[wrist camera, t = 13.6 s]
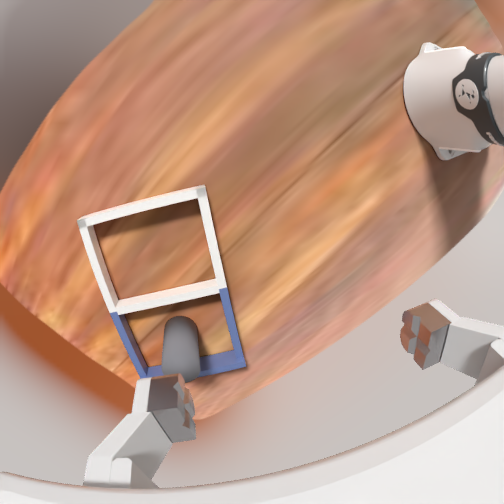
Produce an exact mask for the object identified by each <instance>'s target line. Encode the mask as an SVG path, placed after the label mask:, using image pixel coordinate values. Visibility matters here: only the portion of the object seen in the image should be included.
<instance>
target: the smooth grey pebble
mask: <svg viewBox="0 0 504 504" xmlns="http://www.w3.org/2000/svg"><path fill="white" fill-rule="evenodd" d="M161 369H162V372H163V374H164V375H171V374H178V373H180V374H181V375H182V377H183V379H184V381H185V383H186V382H190V381H192V380H194V379H196V378H197V377H198V375H199V373H200V359H199V347H198V334H197V326H196V324H195V323H194V321H193V320H191V319H190V318H188V317H184V316H176V317H173V318H171V319H170V320H168V321H167V323H166V324H165V329H164V340H163V352H162V366H161Z"/></svg>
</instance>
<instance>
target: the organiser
mask: <svg viewBox="0 0 504 504" xmlns="http://www.w3.org/2000/svg"><path fill="white" fill-rule="evenodd" d="M196 198H198V201H199V205H200V210H201V215H202V219H203V224H204V228H205V233H206V237H207V242H208V246H209V250H210V255H211V259H212V263H213V268H214V272H215V276H216V279H212V280H208V281H203V282H199V283H195V284H190V285H186V286H181V287H177V288H172V289H168V290H163V291H159V292H154V293H150V294H145V295H141V296H136V297H132V298H127V299H122V300H118V298H117V295H116V293H115V290H114V287H113V285H112V282H111V279H110V276H109V274H108V271H107V268H106V265H105V262H104V259H103V256H102V253H101V250H100V247H99V244H98V241H97V237H96V234H95V231H94V227H93V225H94V224H98V223H101V222H105V221H108V220H112V219H116V218H119V217H123V216H127V215H131V214H134V213H138V212H142V211H146V210H150V209H154V208H158V207H162V206H166V205H170V204H174V203H179V202H183V201H187V200H192V199H196ZM77 222H78V226H79V229H80V232H81V236H82V239H83V242H84V245H85V248H86V251H87V254H88V257H89V260H90V263H91V266H92V269H93V271H94V274H95V277H96V280H97V282H98V285H99V287H100V290H101V293H102V295H103V298H104V300H105V303H106V305H107V307H108V310H109V312H110V315H111V317H112V319H113V322H114V324H115V326H116V328H117V331H118V333H119V335H120V337H121V339H122V342H123V344H124V346H125V348H126V350H127V352H128V354H129V356H130V358H131V360H132V362H133V364H134V366H135V368H136V370H137V372H138V374H139V376H140V379H142V378H150V377H156V376H163V375H164V374H163V372H162V369H161V366H162V365H158V366H153V367H147V365H146V363H145V361H144V358H143V356H142V354H141V352H140V350H139V348H138V345H137V343H136V341H135V339H134V337H133V334H132V332H131V330H130V327H129V325H128V323H127V320H126V318H125V315H124V314H125V313H130V312H135V311H140V310H145V309H149V308H154V307H159V306H164V305H168V304H173V303H177V302H182V301H186V300H191V299H195V298H200V297H204V296H208V295H213V294H217V293H220V297H221V301H222V305H223V309H224V313H225V316H226V320H227V324H228V328H229V332H230V336H231V340H232V343H233V347H234V350H231V351H227V352H223V353H218V354H214V355H209V356H205V357H200V358H199V359H200V373H199V375H198V377H202V376H207V375H212V374H216V373H221V372H225V371H230V370H234V369H238V368H242V367H246V364H245V360H244V356H243V352H242V348H241V344H240V340H239V336H238V332H237V328H236V324H235V319H234V315H233V311H232V307H231V303H230V298H229V294H228V290H227V285H226V281H225V276H224V272H223V268H222V263H221V259H220V254H219V250H218V245H217V240H216V236H215V231H214V227H213V222H212V217H211V212H210V208H209V203H208V198H207V193H206V188H205V185H201V186H196V187H192V188H187V189H183V190H179V191H174V192H170V193H166V194H162V195H158V196H154V197H150V198H146V199H142V200H138V201H135V202H131V203H127V204H123V205H120V206H116V207H113V208H109V209H106V210H102V211H99V212H95V213H92V214H88V215H85V216H82V217H81V218H79V219H78V220H77Z"/></svg>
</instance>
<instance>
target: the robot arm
mask: <svg viewBox="0 0 504 504" xmlns="http://www.w3.org/2000/svg"><path fill="white" fill-rule="evenodd" d="M404 99H405V104H406V108H407V111H408V114H409V116H410V118H411V121H412V123H413V124H414V126H415V128H416V129H417V131H418V132H419V133H420V134H421V135H422V136H423V137H424V138H425V139H426V140H427V141H428V142H429V143H430V144H431V145H432V146H433V148H434V150H435V152H436V154H437V156H438V157H439V158H440V159H441V160H449V159H452V158H454V157H457V156H459V155H462V154H464V153H466V152H480V151H481V150H482V149H485V148H487V147H489V146H490V145H492V144H497V145H499V146H504V55H501V54H499V53H490V52H486V53H481V54H476V55H475V54H474V53H473V52H472V51H470V50H468V49H466V47H453V48H445V49H442V48H440V47H438V46H436V45H434V44H432V43H424V44H423V45H422V47H421V50H420V53H419V55H418V56H417V57H416V58H415V59H414V60H413V61H412V62H411V63H410V64H409V66H408V68H407V70H406V73H405V77H404ZM402 321H403V322H404V326H403V327H402V329H401V334H400V338H401V343H402V345H403V347H404V349H405V350H406V351H407V352H408V353H411V354H414V360H415V362H416V363H417V364H418V365H419V366H420V367H421V368H422V370H423V369H426V368H428V367H430V366H432V365H434V364H436V363H438V362H440V363H442V364H444V365H446V366H448V367H451V368H453V369H456V370H457V371H460V372H462V373H464V374H467V375H469V376H471V377H473V378H476V379H477V381H476V383H475V385H474V387H472V388H471V389H469V390H468V391H466V392H464V393H463V394H461V395H460V396H458V397H457V398H455V399H453V400H452V401H450V402H448V403H447V404H445V405H443V406H442V407H440V408H438V409H436V410H434V411H433V412H431V413H429V414H427V415H425V416H424V417H422V418H420V419H418V420H416V421H414V422H412V423H410V424H408V425H406V426H404V427H402V428H400V429H398V430H395V431H393V432H391V433H389V434H387V435H384V436H382V437H380V438H377V439H375V440H373V441H371V442H368V443H365V444H363V445H360V446H358V447H355V448H353V449H350V450H347V451H345V452H342V453H339V454H336V455H333V456H330V457H327V458H324V459H321V460H318V461H315V462H312V463H308V464H305V465H301V466H298V467H294V468H290V469H286V470H283V471H279V472H274V473H270V474H265V475H261V476H257V477H251V478H246V479H240V480H234V481H228V482H222V483H214V484H207V485H197V486H187V487H175V488H174V487H173V488H159V487H158V486H157V485H155V484H154V483H153V482H152V481H151V479H152V477H153V476H154V474H155V473H156V471H157V469H158V468H159V466H160V464H161V462H162V461H163V459H164V458H165V456H166V454H167V452H168V451H169V449H170V448H171V446H172V443H174V442H181V441H188V440H194V439H196V430H195V423H194V421H193V419H192V417H193V416H194V415H195V410H194V403H193V399H192V396H191V393H190V391H189V389H187V388H185V381H184V379H183V377H182V375H181V374H180V373H178V374H171V375H163V376H156V377H150V378H142V379H139V380H138V381H137V384H136V390H135V395H134V401H133V407H132V414H127V415H126V417H125V418H124V419H123V420H122V421H121V422H120V423H119V424H118V425H117V426H116V427H115V428H114V430H113V431H112V432H111V433H110V434H109V435H108V436H107V437H106V438H105V439H104V440H103V442H101V444H100V445H99V446H98V447H97V448H96V449H95V450H94V451H93V452H92V453H91V454H90V455H89V456H88V461H87V466H86V471H85V477H84V483H83V486H79V485H71V484H62V483H56V482H50V481H44V480H38V479H34V478H29V477H24V476H20V475H16V474H12V473H8V472H0V504H504V326H501V325H496V324H492V323H488V322H484V321H480V320H475V319H471V318H467V317H463V318H461V317H460V316H458V315H457V314H456V313H455V312H453V311H452V310H451V309H450V308H448V307H447V306H446V305H444V304H443V303H442V302H441V301H440V300H438V299H433V300H430V301H428V302H426V303H424V304H421V305H419V306H417V307H414V308H412V309H409V310H407V311H405V312H404V313H403V316H402Z"/></svg>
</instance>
